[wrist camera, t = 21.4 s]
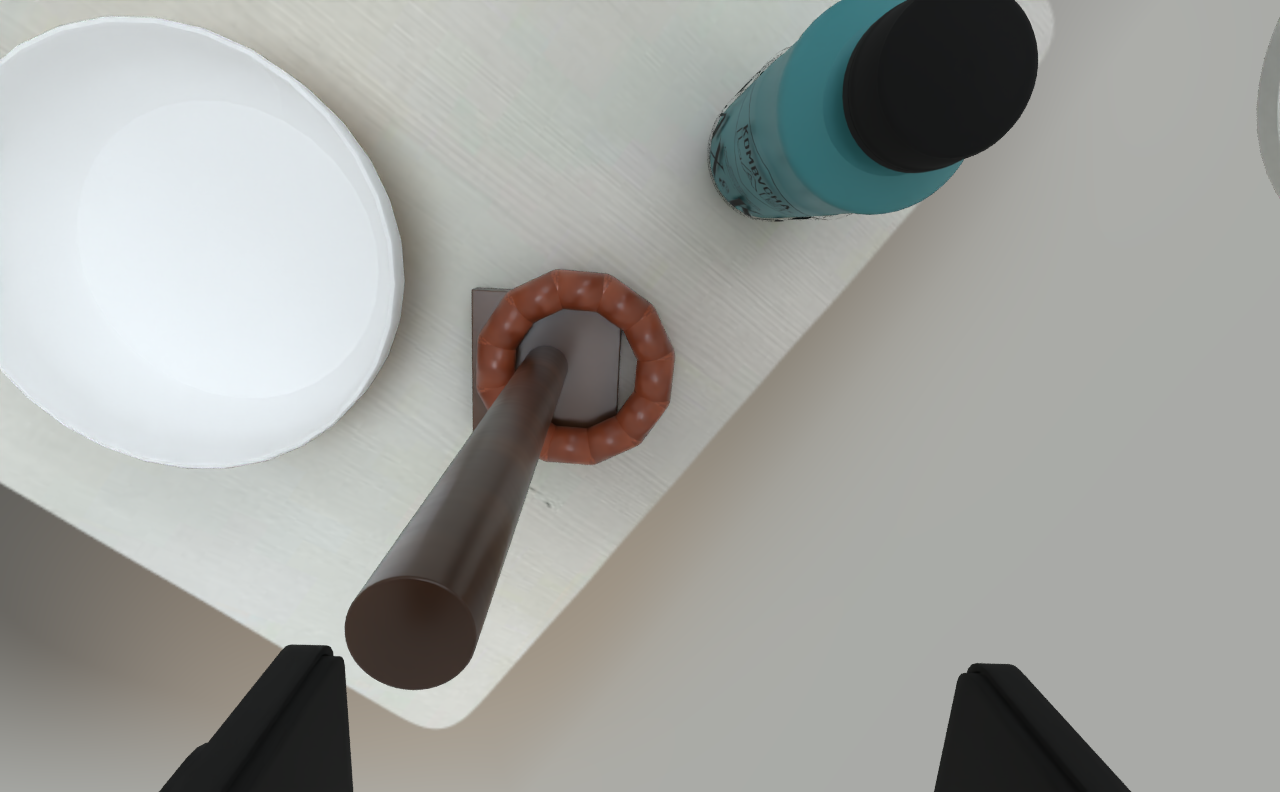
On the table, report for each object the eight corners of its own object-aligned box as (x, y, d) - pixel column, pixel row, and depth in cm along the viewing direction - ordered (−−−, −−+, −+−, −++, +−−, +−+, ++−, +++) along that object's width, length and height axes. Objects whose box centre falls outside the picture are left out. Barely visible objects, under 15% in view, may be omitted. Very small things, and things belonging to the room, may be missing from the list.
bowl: (8, 330, 35) (-118, 351, 29) (122, -27, 31) (4, -89, 25) (350, 487, 38) (300, 535, 32) (494, 180, 34) (468, 169, 28)
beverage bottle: (760, 63, 33) (974, -179, 13) (849, 155, 34) (1162, 55, 15) (675, 164, 34) (757, 75, 14) (764, 250, 35) (951, 273, 16)
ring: (681, 279, 34) (685, 282, 32) (661, 462, 37) (663, 476, 35) (484, 261, 33) (476, 263, 32) (477, 449, 36) (470, 461, 34)
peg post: (622, 295, 35) (640, 436, 11) (615, 433, 37) (618, 813, 13) (476, 287, 35) (156, 417, 11) (477, 427, 37) (208, 809, 13)
